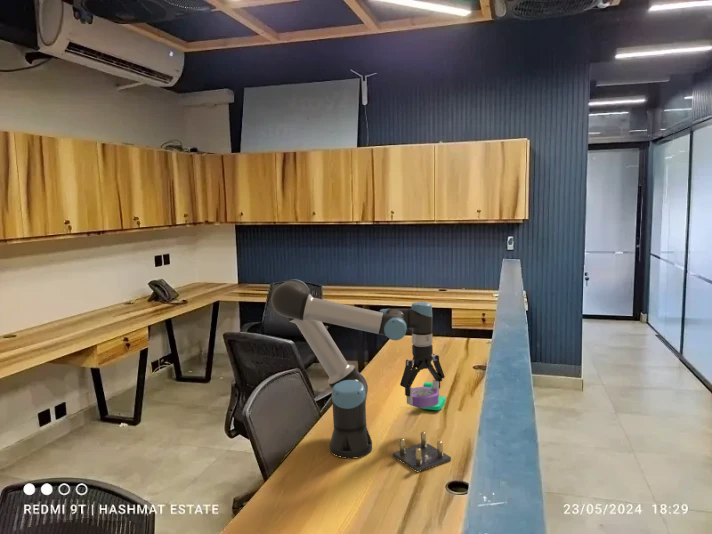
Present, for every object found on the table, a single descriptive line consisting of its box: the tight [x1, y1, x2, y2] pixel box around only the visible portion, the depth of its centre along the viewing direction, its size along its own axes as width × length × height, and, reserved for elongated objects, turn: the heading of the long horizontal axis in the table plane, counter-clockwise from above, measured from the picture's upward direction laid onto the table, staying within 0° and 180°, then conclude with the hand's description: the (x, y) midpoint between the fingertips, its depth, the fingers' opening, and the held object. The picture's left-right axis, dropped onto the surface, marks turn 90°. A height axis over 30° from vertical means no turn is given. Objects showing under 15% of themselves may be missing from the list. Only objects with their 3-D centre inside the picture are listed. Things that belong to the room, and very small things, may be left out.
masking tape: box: [411, 386, 440, 409], centre depth 199 cm, size 12×12×4 cm
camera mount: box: [420, 381, 447, 411], centre depth 225 cm, size 12×8×10 cm, turn 156°
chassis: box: [392, 431, 452, 472], centre depth 180 cm, size 14×14×6 cm
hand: (423, 400), depth 200 cm, fingers closed on masking tape, 12 cm apart
